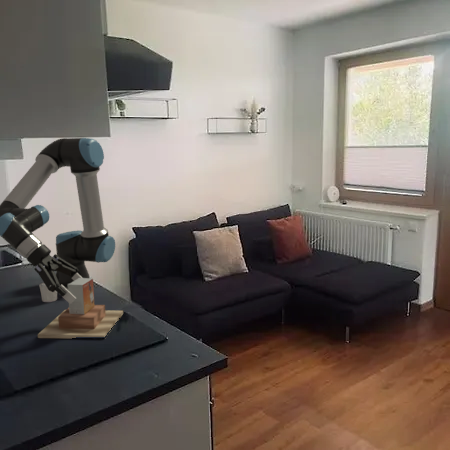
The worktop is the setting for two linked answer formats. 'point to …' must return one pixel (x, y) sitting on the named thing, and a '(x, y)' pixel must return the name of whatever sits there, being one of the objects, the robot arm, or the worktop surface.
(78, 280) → the small box
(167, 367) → the worktop surface
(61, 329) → the tower base
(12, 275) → the worktop surface
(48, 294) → the shot glass
